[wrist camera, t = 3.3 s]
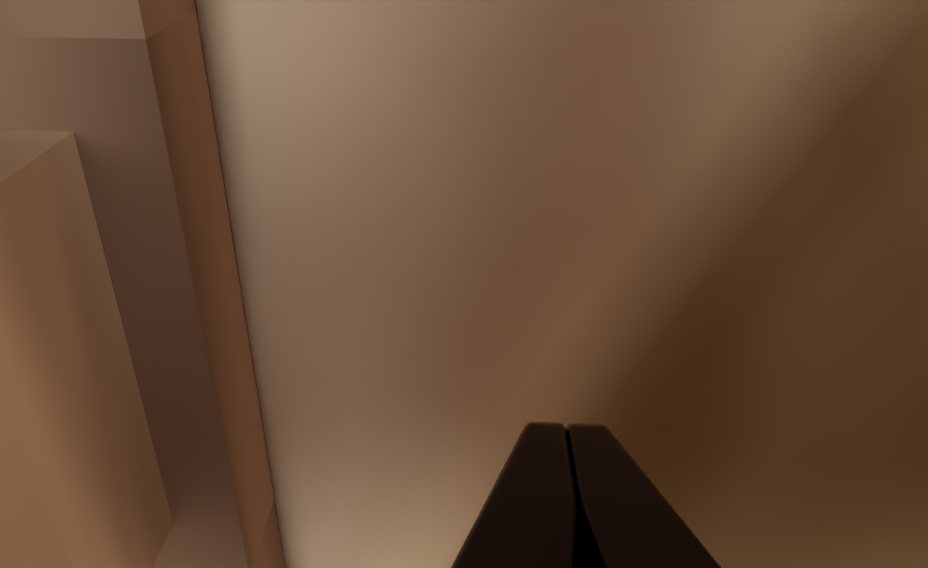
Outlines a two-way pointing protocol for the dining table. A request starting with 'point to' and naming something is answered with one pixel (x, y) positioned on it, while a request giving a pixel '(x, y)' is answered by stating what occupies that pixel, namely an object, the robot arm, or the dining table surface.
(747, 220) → the dining table surface
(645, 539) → the robot arm
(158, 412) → the trap deck
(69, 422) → the maple block
